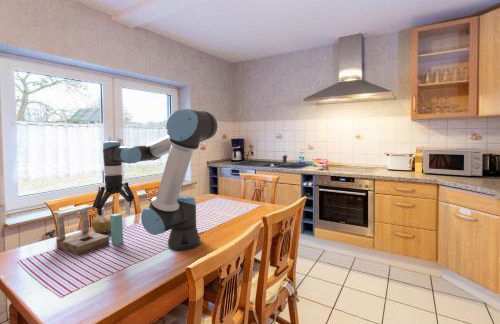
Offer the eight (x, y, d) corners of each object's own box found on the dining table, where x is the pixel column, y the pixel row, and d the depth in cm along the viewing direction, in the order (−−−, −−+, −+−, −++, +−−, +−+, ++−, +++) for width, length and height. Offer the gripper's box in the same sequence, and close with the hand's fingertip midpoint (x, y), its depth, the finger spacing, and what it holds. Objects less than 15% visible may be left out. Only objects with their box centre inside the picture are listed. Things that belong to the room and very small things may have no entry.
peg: (123, 242, 134) (121, 214, 132) (116, 244, 130) (114, 216, 129) (118, 240, 135) (116, 213, 134) (111, 243, 132) (110, 215, 131)
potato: (100, 237, 140) (99, 222, 140) (87, 232, 148) (86, 217, 147) (118, 231, 148) (117, 217, 148) (105, 227, 156) (104, 213, 155)
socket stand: (110, 243, 132) (108, 208, 130) (78, 256, 119) (75, 217, 117) (88, 237, 140) (86, 204, 139) (56, 248, 127) (53, 211, 126)
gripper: (131, 170, 142) (132, 210, 144) (81, 177, 121) (84, 224, 123) (140, 171, 139) (142, 212, 141) (92, 178, 117) (94, 226, 119)
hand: (115, 217), depth 132 cm, fingers open, 13 cm apart
